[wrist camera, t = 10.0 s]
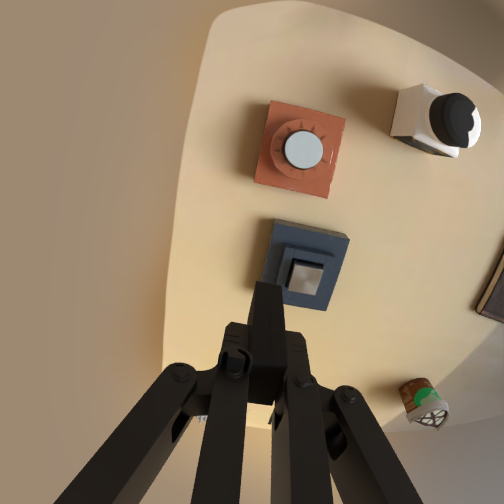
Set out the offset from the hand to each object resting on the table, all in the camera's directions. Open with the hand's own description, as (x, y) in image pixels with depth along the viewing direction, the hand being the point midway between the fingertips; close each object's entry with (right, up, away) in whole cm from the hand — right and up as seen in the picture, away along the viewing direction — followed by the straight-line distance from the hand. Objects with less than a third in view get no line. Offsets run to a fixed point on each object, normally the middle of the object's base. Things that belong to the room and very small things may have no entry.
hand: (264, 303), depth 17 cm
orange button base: (+5, +16, +18) cm, 24 cm away
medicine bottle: (+22, +21, +15) cm, 34 cm away
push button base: (+6, +1, +23) cm, 24 cm away
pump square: (+6, 0, +20) cm, 21 cm away
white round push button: (+5, +14, +14) cm, 20 cm away
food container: (+35, -25, +32) cm, 53 cm away
